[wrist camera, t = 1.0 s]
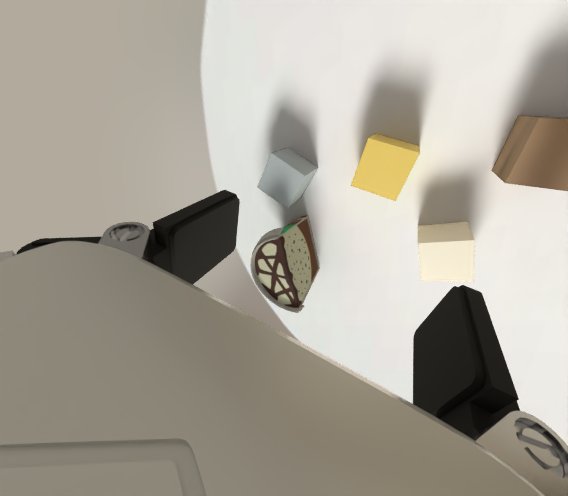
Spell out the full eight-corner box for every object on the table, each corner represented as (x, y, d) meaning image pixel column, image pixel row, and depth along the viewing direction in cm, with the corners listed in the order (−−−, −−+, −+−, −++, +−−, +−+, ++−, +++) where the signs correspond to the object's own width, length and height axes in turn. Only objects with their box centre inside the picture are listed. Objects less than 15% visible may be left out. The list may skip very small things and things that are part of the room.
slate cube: (318, 167, 33) (305, 176, 29) (301, 197, 36) (287, 208, 32) (288, 147, 33) (271, 153, 29) (274, 178, 36) (257, 187, 32)
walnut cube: (590, 119, 21) (630, 122, 17) (554, 177, 23) (581, 192, 19) (517, 115, 22) (538, 118, 18) (491, 170, 25) (505, 182, 21)
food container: (271, 210, 39) (234, 236, 31) (306, 206, 36) (275, 234, 28) (289, 274, 44) (261, 311, 36) (321, 275, 41) (298, 316, 33)
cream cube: (466, 221, 28) (474, 240, 24) (466, 258, 30) (473, 281, 26) (417, 225, 31) (417, 243, 27) (420, 259, 32) (420, 280, 29)
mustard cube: (419, 145, 27) (419, 152, 23) (398, 188, 30) (395, 201, 26) (375, 133, 28) (368, 138, 24) (359, 175, 31) (350, 185, 27)
